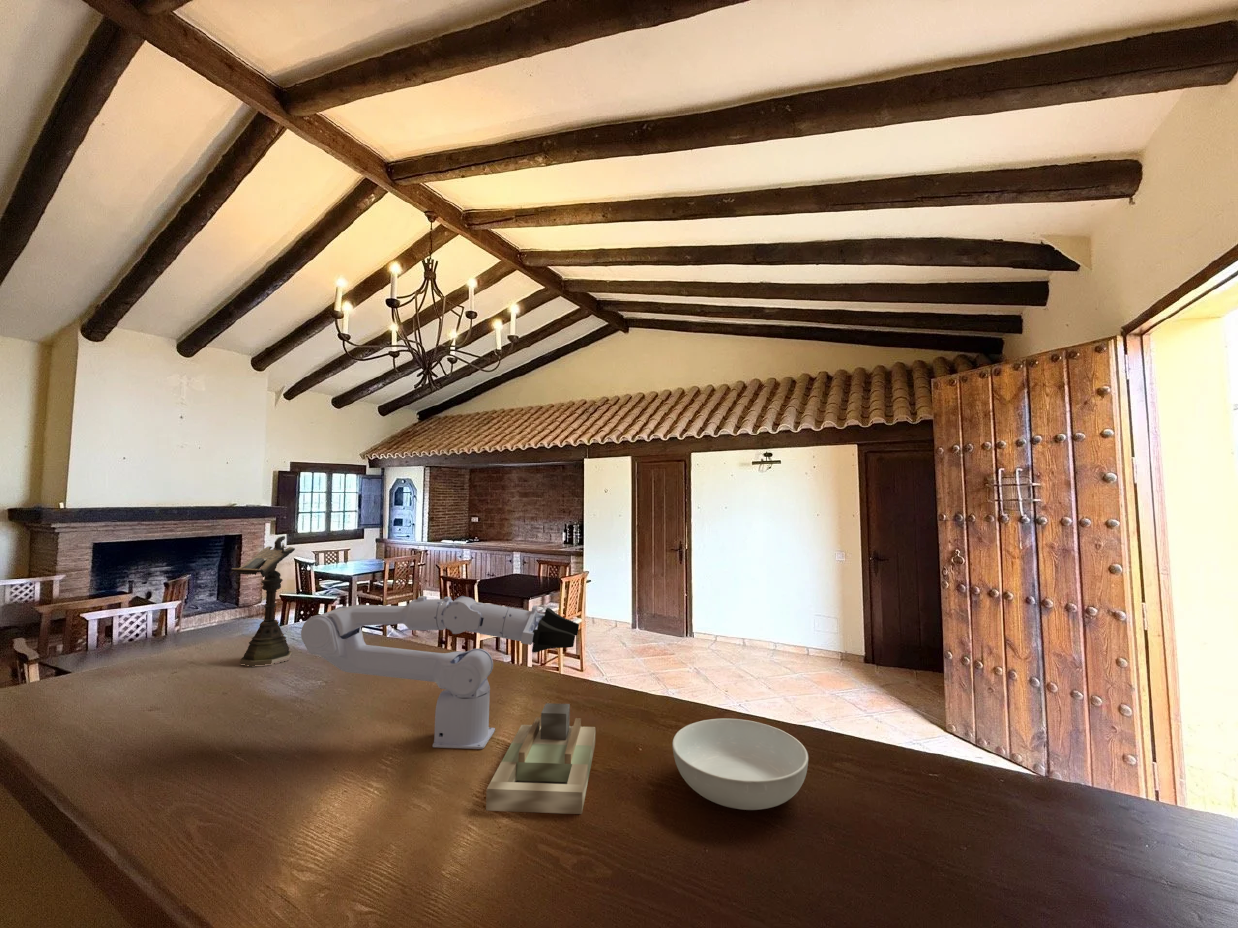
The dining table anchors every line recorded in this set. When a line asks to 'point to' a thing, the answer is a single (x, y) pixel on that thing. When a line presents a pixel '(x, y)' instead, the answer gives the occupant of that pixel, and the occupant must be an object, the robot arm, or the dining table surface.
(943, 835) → the dining table surface
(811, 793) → the dining table surface
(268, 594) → the lectern
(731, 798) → the serving bowl
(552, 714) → the charcoal block
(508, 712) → the dining table surface
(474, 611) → the robot arm
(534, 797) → the railed deck
